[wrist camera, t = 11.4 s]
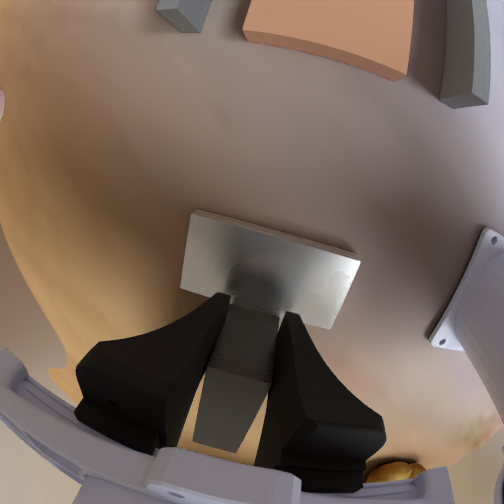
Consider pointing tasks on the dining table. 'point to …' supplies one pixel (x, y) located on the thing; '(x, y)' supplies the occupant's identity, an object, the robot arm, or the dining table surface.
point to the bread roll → (394, 472)
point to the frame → (456, 48)
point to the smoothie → (2, 103)
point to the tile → (338, 31)
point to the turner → (255, 310)
